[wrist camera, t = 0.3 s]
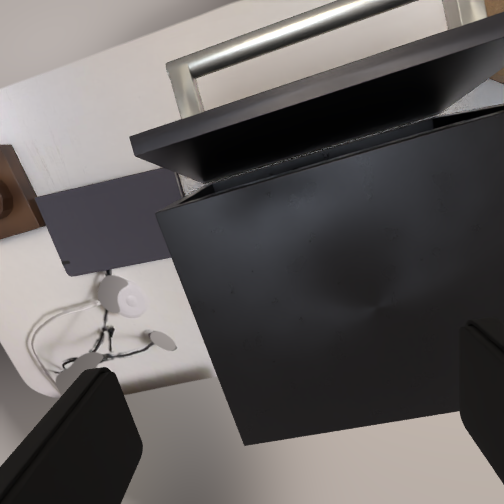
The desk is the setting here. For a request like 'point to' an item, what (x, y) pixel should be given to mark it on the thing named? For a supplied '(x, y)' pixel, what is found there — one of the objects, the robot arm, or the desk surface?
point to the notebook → (110, 221)
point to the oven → (347, 275)
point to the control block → (16, 197)
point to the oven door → (321, 90)
